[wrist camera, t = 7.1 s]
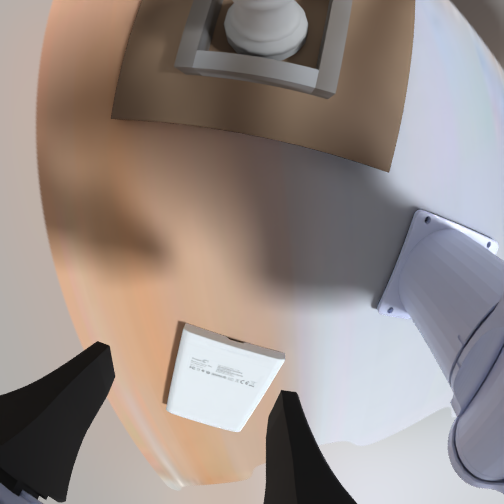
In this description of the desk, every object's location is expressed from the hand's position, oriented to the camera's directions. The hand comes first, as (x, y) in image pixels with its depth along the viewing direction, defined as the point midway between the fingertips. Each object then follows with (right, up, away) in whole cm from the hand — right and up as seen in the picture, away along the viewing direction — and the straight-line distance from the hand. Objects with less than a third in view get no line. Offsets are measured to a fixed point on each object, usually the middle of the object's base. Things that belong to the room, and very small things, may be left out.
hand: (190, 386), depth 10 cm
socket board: (+4, +18, +2) cm, 19 cm away
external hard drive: (-1, -6, +14) cm, 15 cm away
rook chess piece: (+3, +18, +2) cm, 18 cm away
